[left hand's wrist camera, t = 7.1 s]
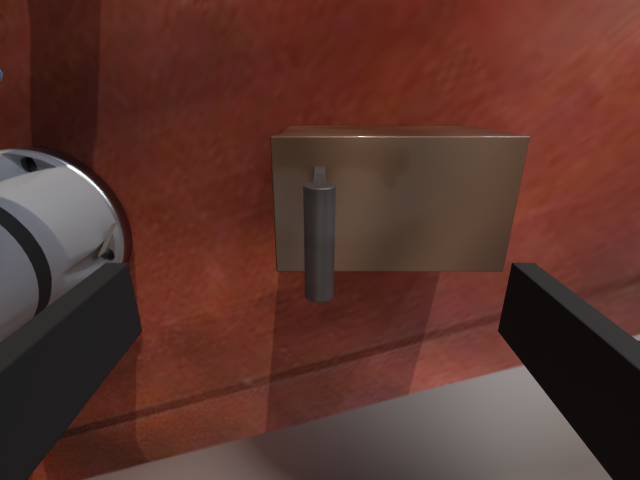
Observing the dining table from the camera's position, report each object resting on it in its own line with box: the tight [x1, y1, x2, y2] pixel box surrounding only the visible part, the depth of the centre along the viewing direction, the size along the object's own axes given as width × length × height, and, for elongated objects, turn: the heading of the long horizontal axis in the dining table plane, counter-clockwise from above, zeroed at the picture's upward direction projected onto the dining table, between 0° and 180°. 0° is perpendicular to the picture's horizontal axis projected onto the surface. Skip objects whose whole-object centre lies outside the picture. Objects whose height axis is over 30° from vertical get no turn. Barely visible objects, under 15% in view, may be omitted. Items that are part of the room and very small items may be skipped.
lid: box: [270, 135, 530, 302], centre depth 21 cm, size 16×9×8 cm, turn 90°
